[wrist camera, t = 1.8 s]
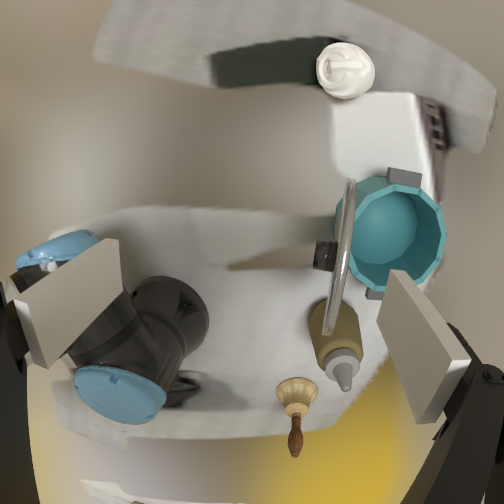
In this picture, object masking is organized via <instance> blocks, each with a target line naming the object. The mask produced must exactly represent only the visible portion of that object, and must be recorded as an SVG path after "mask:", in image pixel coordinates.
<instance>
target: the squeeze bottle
mask: <svg viewBox="0 0 504 504" xmlns="http://www.w3.org/2000/svg"><path fill="white" fill-rule="evenodd" d="M326 305H327V300H324V301H323V302H321V303H320V304H319V305H318V306H317V307H316V309H315V310H314V312H313V314H312V316H311V318H310V321H309V325H308V328H309V332H310V336H311V340H312V343H313V347H314V351H315V355H316V358H317V362H318V365H319V367H320V368H321V369H322V370H323V371H325V373H326V376H327V377H328V378H329V379H331V380H333V381H337V382H338V384H339V386H340V388H341V390H342V391H344V392H347V391H349V390H350V389H351V384H352V378H353V377H354V376H355V375H356V374H357V373H358V371H359V369H360V362H361V360H362V357H363V347H362V340H361V334H360V327H359V321H358V315H357V314H356V312H355V311H354V310H353V308H352V307H350V306H349V305H347V304H346V303H344V302H343V301H341V304H340V309H339V313H338V317H337V320H336V324H335V327H334V330H333V333H332V335H331V336H325V335H322V329H323V323H324V317H325V311H326Z"/></svg>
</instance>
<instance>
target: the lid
mask: <svg viewBox="0 0 504 504" xmlns="http://www.w3.org/2000/svg"><path fill="white" fill-rule="evenodd" d="M355 206H356V179H350V178H347V179H346V183H345V190H344V196H343V203H342V210H341V215H340V220H339V227H338V234H337V240H336V241H335V240H328V239H322V238H318V239H317V243H316V249H315V255H314V262H313V269H317V270H323V271H329V272H332V275H331V281H330V287H329V293H328V299H327V305H326V311H325V317H324V323H323V329H322V335H325V336H331V335H332V333H333V330H334V327H335V324H336V320H337V317H338V313H339V309H340V304H341V300H342V295H343V291H344V285H345V280H346V275H347V269H348V263H349V257H350V250H351V243H352V236H353V227H354V218H355Z"/></svg>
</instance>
